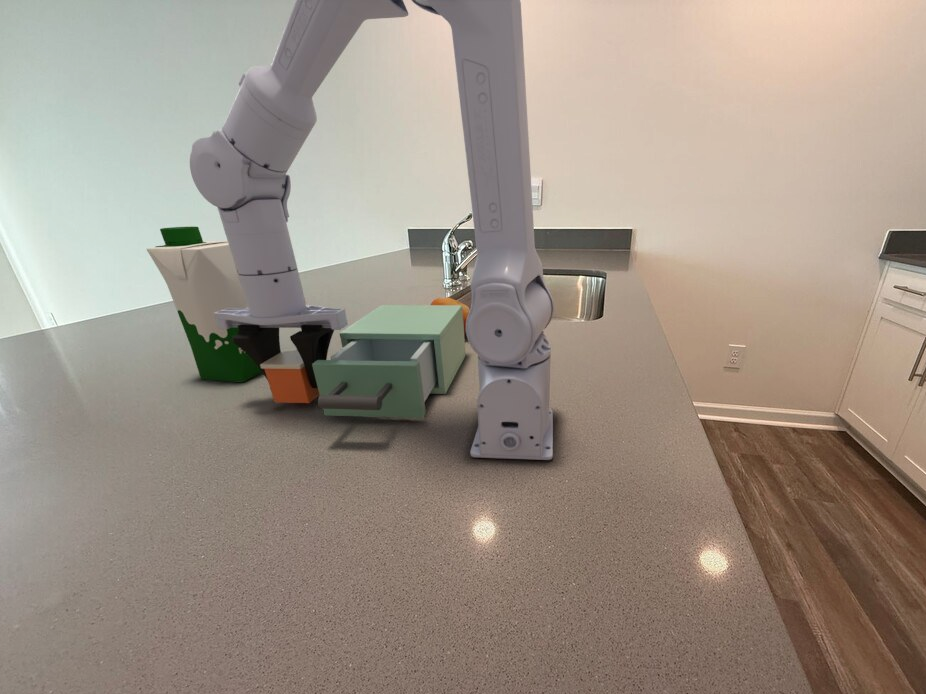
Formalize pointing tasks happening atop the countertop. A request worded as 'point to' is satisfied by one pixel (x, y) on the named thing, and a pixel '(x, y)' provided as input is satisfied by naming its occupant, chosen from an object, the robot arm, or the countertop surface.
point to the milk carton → (205, 300)
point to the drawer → (377, 378)
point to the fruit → (453, 302)
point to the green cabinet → (418, 333)
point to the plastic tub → (289, 378)
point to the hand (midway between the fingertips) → (299, 384)
